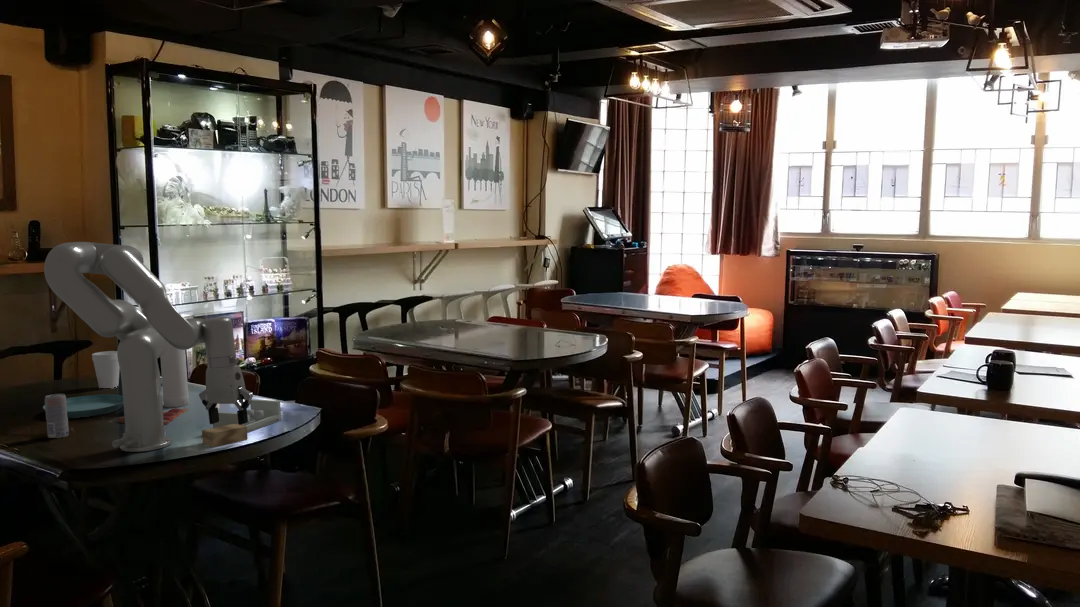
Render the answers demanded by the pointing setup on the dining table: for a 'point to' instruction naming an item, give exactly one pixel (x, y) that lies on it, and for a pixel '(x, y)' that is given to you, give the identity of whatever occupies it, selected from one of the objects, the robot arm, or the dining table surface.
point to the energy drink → (56, 416)
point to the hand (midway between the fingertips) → (228, 423)
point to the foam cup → (106, 368)
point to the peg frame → (254, 415)
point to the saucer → (92, 405)
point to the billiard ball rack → (164, 415)
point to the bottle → (174, 377)
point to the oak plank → (224, 435)
